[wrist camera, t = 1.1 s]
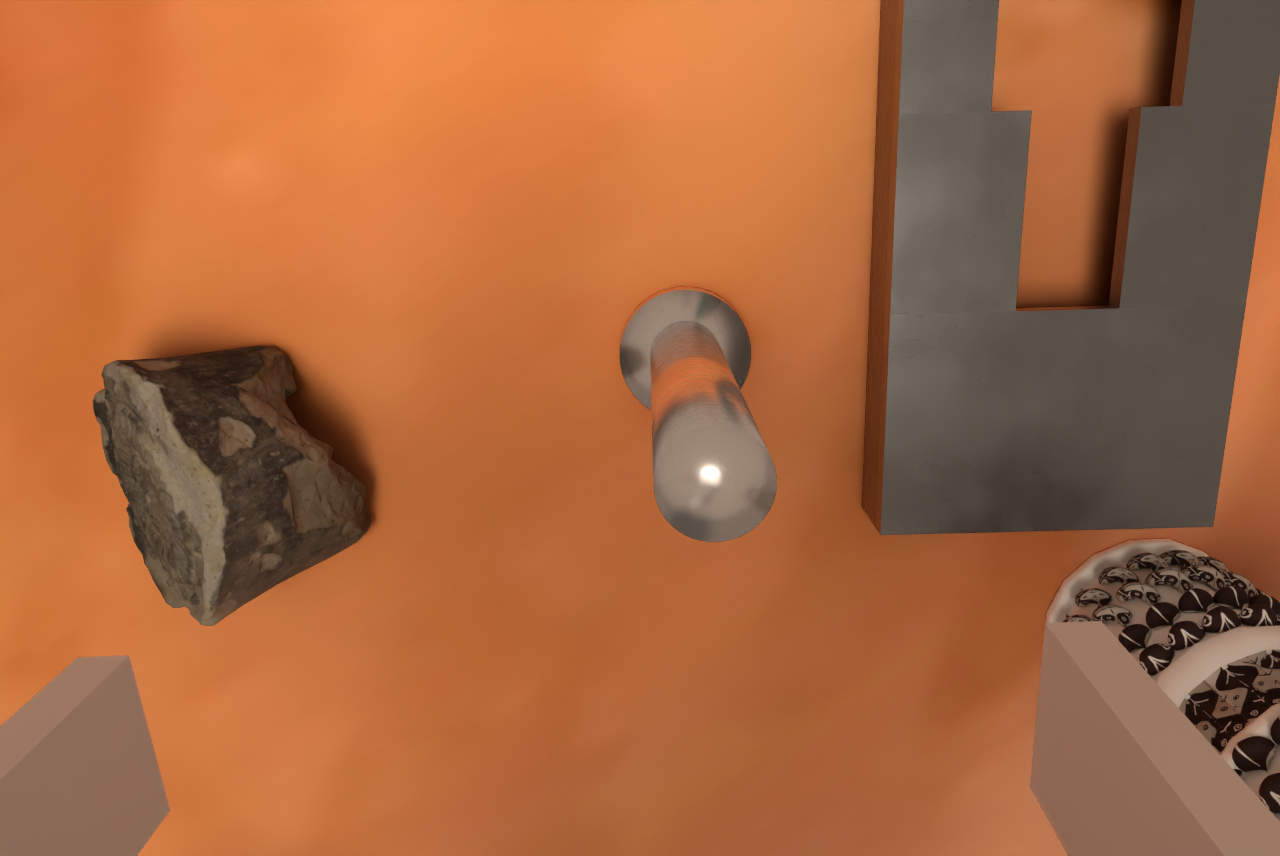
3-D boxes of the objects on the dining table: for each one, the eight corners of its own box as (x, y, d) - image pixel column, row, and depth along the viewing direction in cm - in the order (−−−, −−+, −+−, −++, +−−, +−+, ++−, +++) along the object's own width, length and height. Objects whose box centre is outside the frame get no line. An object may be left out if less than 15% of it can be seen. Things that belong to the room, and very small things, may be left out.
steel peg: (747, 410, 38) (826, 586, 21) (622, 413, 38) (605, 592, 21) (747, 284, 36) (832, 369, 20) (618, 288, 36) (596, 376, 20)
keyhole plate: (1167, 499, 39) (1213, 526, 35) (862, 506, 39) (880, 534, 36) (1259, -201, 32) (1326, -242, 29) (887, -187, 32) (913, -227, 29)
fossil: (42, 416, 37) (-28, 408, 28) (248, 309, 40) (246, 270, 31) (197, 628, 39) (179, 685, 30) (381, 511, 43) (415, 530, 33)
